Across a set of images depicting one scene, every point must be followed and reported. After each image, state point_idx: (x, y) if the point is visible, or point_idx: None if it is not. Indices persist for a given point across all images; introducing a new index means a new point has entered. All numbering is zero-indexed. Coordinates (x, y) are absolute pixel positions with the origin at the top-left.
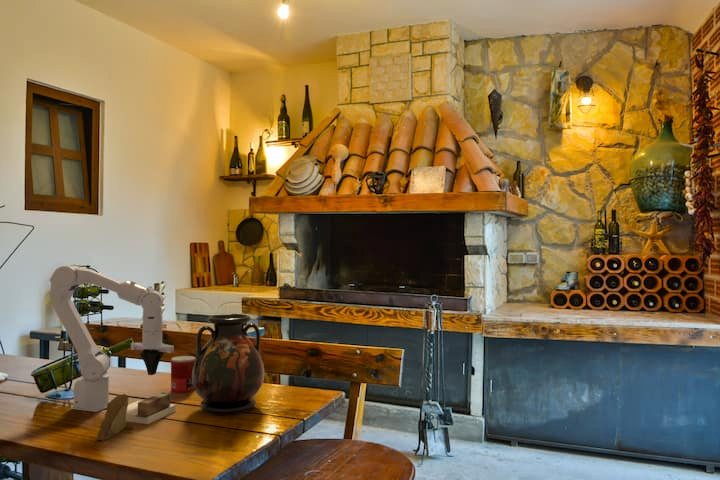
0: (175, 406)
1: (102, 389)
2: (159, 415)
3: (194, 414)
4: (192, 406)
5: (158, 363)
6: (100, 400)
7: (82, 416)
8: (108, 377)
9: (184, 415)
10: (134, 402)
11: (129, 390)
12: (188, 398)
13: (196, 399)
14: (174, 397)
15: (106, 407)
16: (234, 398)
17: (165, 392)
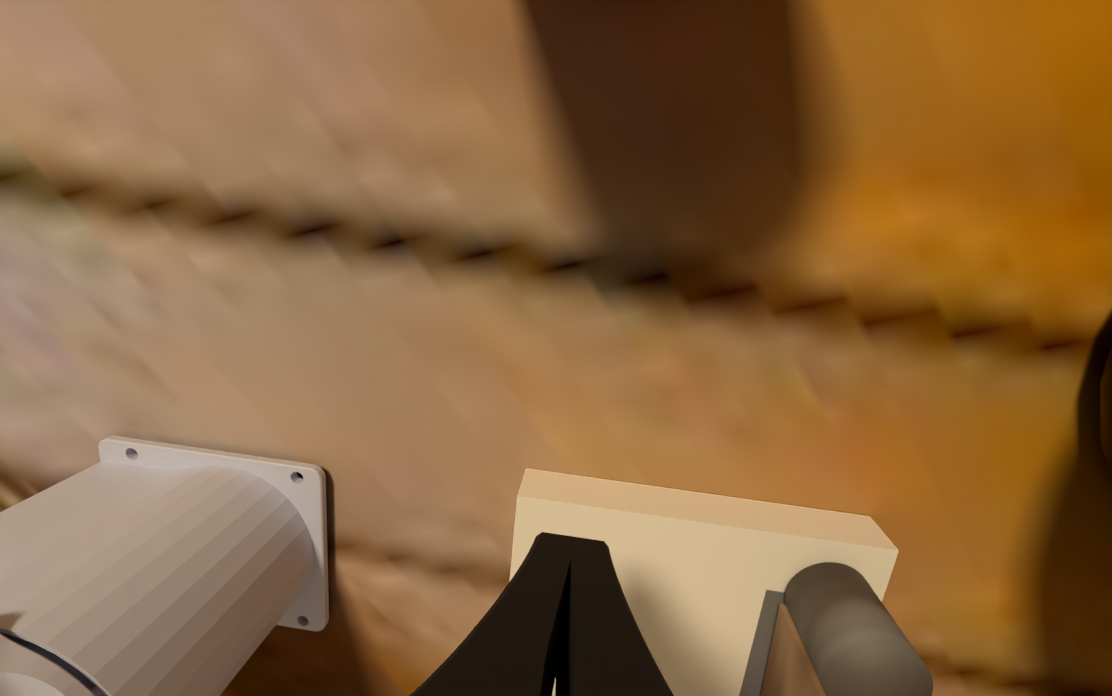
0: (889, 540)
1: (217, 689)
2: None
3: (1059, 553)
4: (968, 372)
5: (658, 673)
6: (274, 625)
7: (311, 684)
8: (97, 685)
9: (982, 583)
10: (515, 552)
11: (94, 33)
12: (826, 141)
13: (927, 154)
14: (665, 146)
15: (326, 550)
16: None
17: (867, 673)
